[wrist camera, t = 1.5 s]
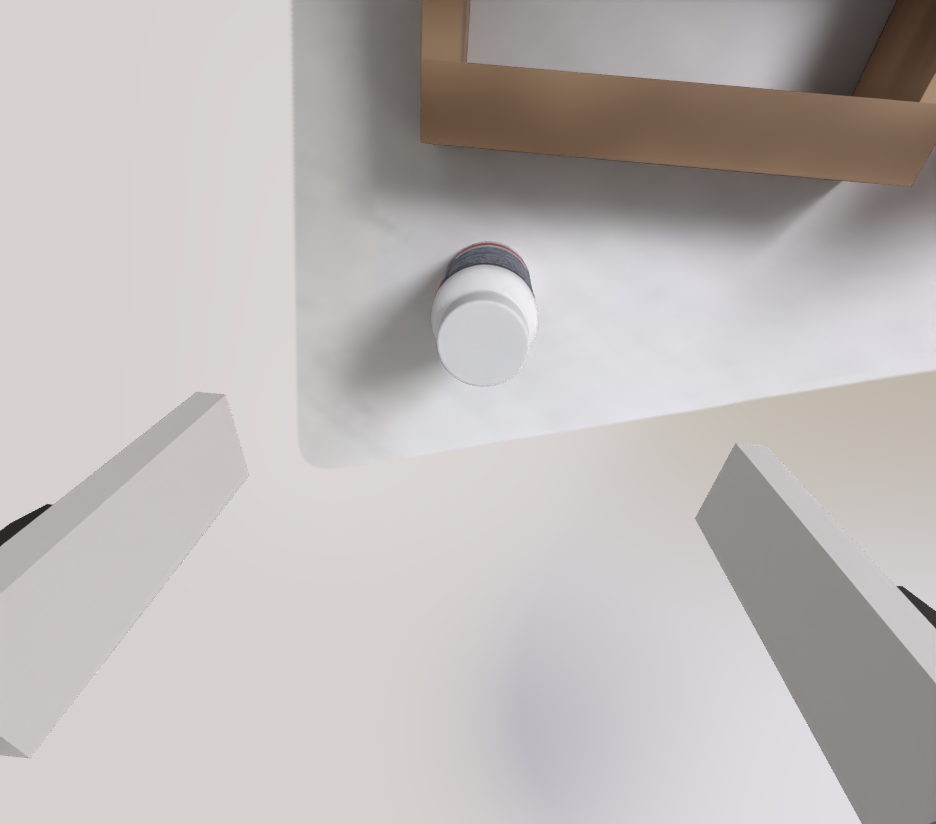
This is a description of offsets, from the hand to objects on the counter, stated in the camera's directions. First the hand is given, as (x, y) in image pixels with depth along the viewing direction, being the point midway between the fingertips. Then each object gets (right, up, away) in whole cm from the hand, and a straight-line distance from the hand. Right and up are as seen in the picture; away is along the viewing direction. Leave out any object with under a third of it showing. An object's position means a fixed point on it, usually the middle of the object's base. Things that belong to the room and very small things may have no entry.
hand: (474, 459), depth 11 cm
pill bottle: (+1, +9, +14) cm, 17 cm away
